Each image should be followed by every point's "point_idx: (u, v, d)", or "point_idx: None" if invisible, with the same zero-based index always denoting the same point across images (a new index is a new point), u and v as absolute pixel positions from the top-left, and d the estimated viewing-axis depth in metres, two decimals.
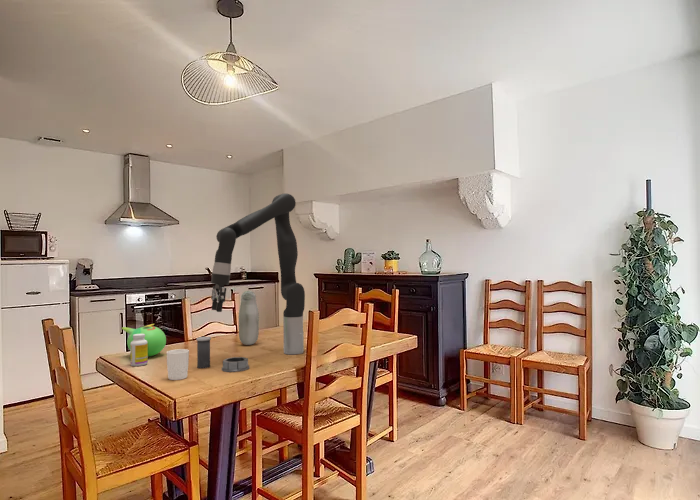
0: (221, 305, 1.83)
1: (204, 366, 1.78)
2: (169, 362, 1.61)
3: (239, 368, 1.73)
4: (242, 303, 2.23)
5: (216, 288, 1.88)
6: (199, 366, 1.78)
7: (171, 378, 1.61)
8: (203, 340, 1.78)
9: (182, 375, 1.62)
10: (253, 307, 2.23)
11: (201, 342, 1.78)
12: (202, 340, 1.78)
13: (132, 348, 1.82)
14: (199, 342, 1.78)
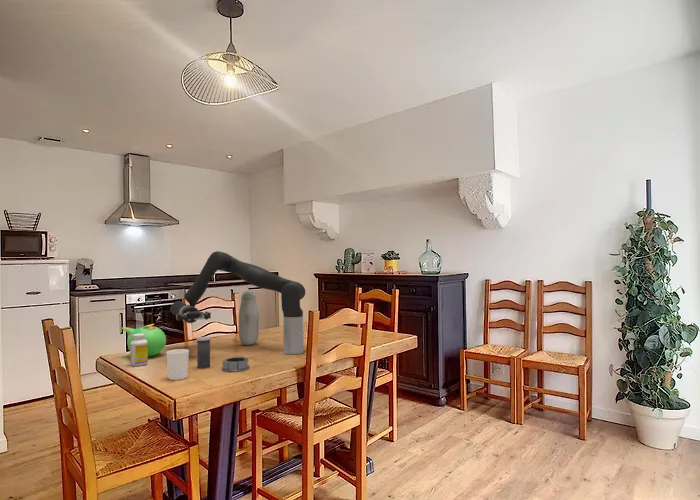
0: (183, 317, 1.89)
1: (204, 366, 1.78)
2: (169, 362, 1.61)
3: (239, 368, 1.73)
4: (242, 303, 2.23)
5: None
6: (199, 366, 1.78)
7: (171, 378, 1.61)
8: (203, 340, 1.78)
9: (182, 375, 1.62)
10: (253, 307, 2.23)
11: (201, 342, 1.78)
12: (202, 340, 1.78)
13: (132, 348, 1.82)
14: (199, 342, 1.78)
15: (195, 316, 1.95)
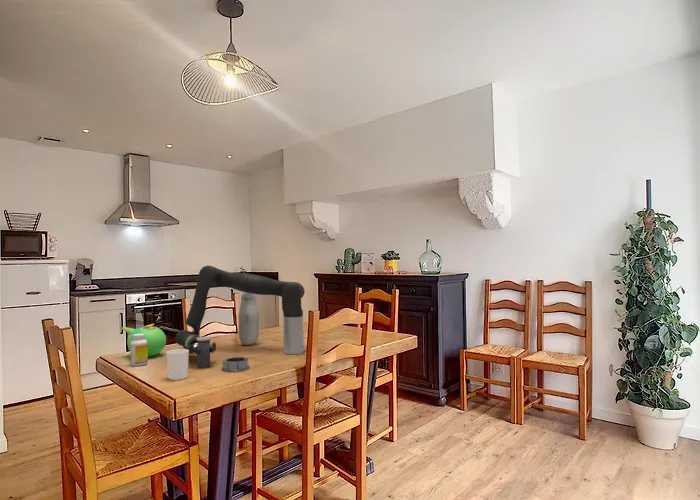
0: (194, 349, 1.78)
1: (204, 366, 1.78)
2: (169, 362, 1.61)
3: (239, 368, 1.73)
4: (242, 303, 2.23)
5: None
6: (199, 366, 1.78)
7: (171, 378, 1.61)
8: (203, 340, 1.78)
9: (182, 375, 1.62)
10: (253, 307, 2.23)
11: (201, 342, 1.78)
12: (202, 340, 1.78)
13: (132, 348, 1.82)
14: (199, 342, 1.78)
15: None
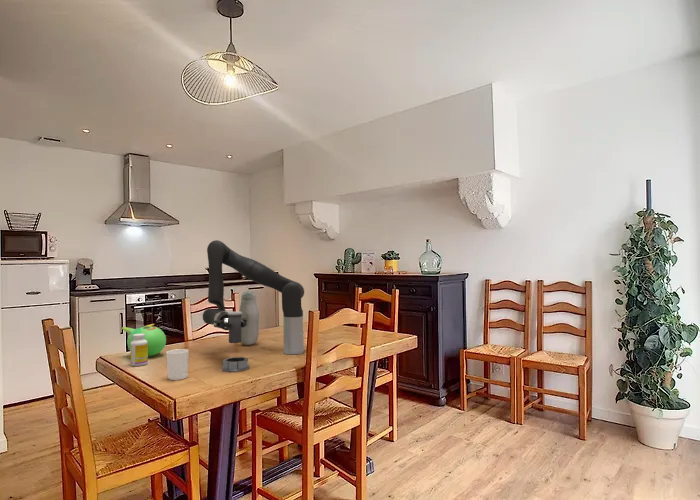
0: (225, 324, 1.75)
1: (236, 341, 1.75)
2: (169, 362, 1.61)
3: (239, 368, 1.73)
4: (242, 303, 2.23)
5: None
6: (231, 341, 1.75)
7: (171, 378, 1.61)
8: (235, 314, 1.74)
9: (182, 375, 1.62)
10: (253, 307, 2.23)
11: (233, 316, 1.75)
12: (234, 314, 1.74)
13: (132, 348, 1.82)
14: (231, 316, 1.75)
15: None
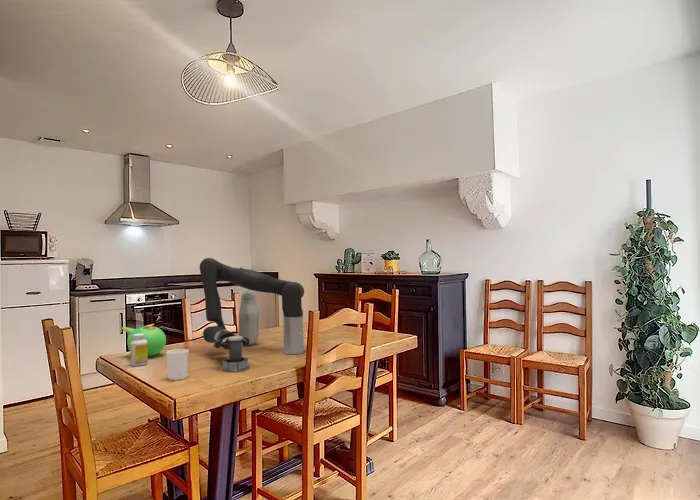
0: (222, 344, 1.75)
1: None
2: (169, 362, 1.61)
3: (239, 368, 1.73)
4: (242, 303, 2.23)
5: None
6: None
7: (171, 378, 1.61)
8: (235, 340, 1.74)
9: (182, 375, 1.62)
10: (253, 307, 2.23)
11: (233, 342, 1.74)
12: (234, 340, 1.74)
13: (132, 348, 1.82)
14: (231, 342, 1.74)
15: None
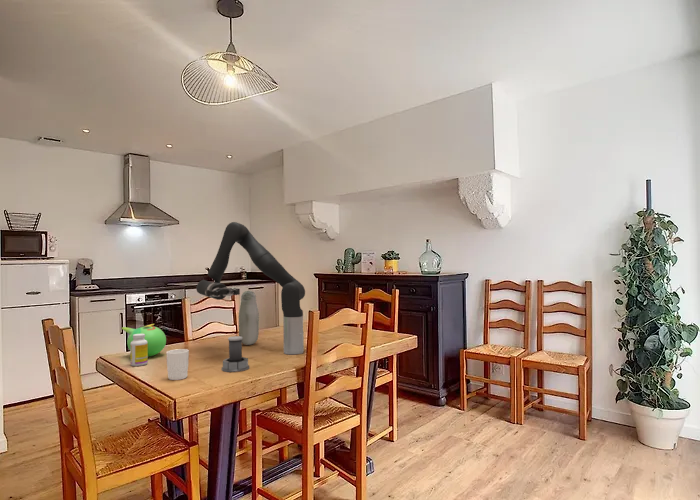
0: (213, 292, 1.86)
1: None
2: (169, 362, 1.61)
3: (239, 368, 1.73)
4: (242, 303, 2.23)
5: None
6: None
7: (171, 378, 1.61)
8: (235, 340, 1.74)
9: (182, 375, 1.62)
10: (253, 307, 2.23)
11: (233, 342, 1.74)
12: (234, 340, 1.74)
13: (132, 348, 1.82)
14: (231, 342, 1.75)
15: (224, 292, 1.92)
